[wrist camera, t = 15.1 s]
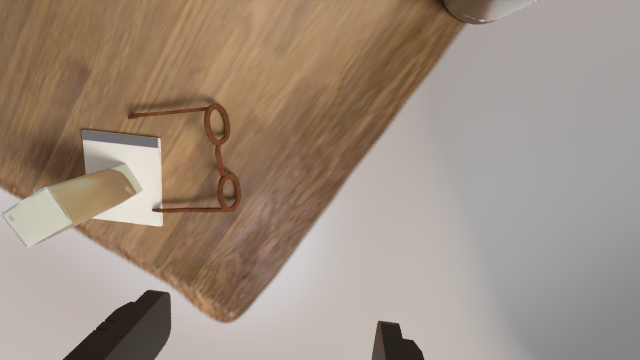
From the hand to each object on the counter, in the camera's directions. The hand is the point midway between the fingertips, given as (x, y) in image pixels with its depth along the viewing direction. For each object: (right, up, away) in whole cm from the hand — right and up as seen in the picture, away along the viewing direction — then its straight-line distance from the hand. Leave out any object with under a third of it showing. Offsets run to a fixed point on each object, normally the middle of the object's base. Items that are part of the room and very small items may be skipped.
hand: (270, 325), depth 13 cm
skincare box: (-25, +5, +31) cm, 40 cm away
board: (-24, +6, +32) cm, 40 cm away
